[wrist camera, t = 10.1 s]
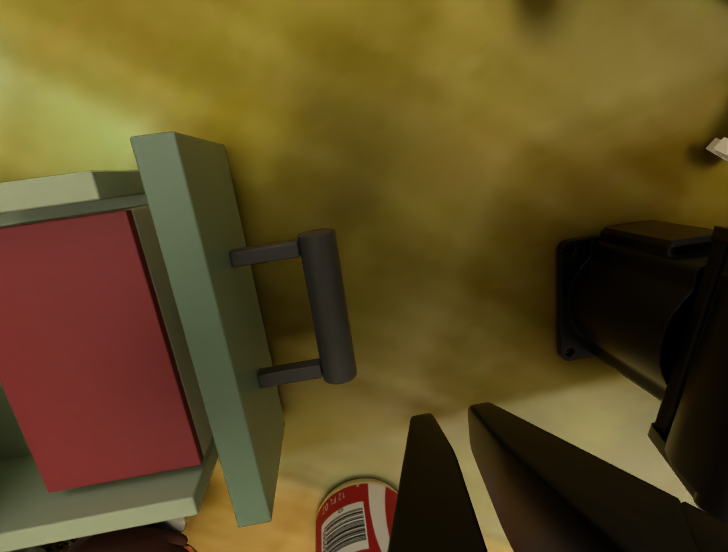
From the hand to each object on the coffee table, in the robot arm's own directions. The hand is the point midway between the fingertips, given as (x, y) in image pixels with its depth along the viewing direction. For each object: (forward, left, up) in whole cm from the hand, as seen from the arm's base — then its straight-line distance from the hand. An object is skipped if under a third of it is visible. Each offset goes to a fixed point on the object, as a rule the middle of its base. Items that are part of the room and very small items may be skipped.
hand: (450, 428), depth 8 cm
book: (0, +10, -10) cm, 14 cm away
